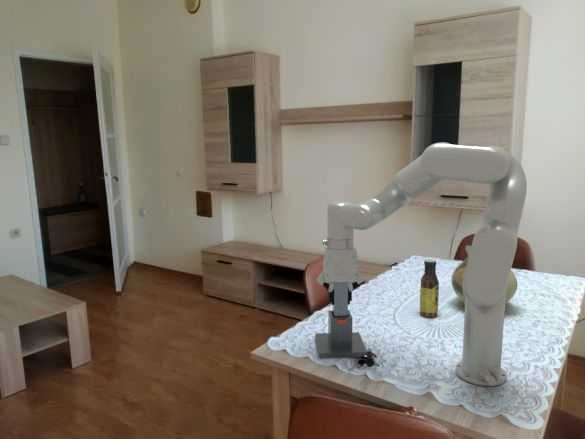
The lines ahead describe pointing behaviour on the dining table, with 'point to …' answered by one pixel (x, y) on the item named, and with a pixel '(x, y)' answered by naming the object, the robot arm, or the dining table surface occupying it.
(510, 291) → the pitcher
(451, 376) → the dining table surface
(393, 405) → the dining table surface
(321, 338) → the jack base
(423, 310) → the sauce bottle
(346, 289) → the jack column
